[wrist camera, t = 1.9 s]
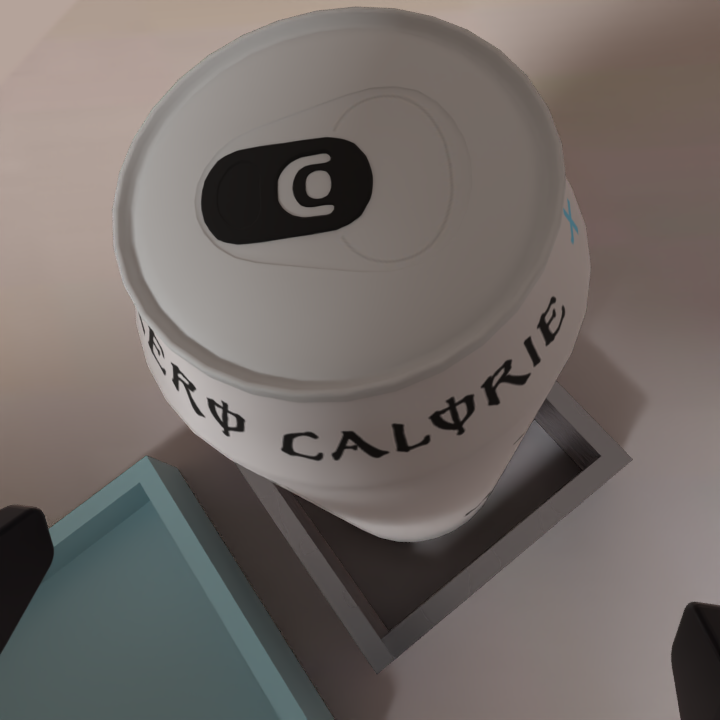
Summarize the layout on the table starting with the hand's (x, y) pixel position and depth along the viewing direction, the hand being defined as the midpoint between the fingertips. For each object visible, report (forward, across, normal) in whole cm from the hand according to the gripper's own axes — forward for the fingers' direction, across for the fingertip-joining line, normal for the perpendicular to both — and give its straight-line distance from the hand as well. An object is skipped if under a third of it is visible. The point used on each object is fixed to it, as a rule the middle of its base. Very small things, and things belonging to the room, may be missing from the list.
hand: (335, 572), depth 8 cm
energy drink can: (+11, 0, +6) cm, 12 cm away
